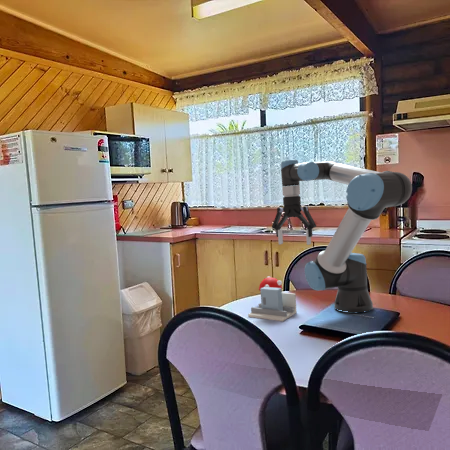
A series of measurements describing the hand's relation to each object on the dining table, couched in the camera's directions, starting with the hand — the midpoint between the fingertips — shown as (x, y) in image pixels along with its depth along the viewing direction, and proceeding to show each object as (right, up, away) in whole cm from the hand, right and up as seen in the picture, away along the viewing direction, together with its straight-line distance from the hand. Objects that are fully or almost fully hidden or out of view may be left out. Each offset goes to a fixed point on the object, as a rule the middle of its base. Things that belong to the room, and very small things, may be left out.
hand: (294, 244), depth 182 cm
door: (-11, -28, -11) cm, 32 cm away
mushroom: (-9, -27, +7) cm, 30 cm away
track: (-11, -29, -11) cm, 32 cm away
